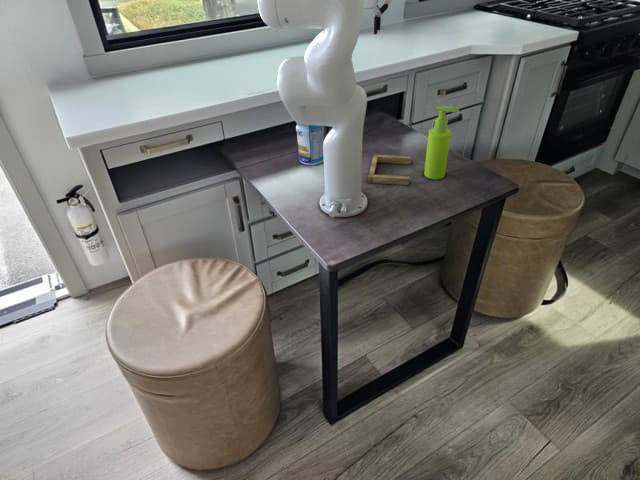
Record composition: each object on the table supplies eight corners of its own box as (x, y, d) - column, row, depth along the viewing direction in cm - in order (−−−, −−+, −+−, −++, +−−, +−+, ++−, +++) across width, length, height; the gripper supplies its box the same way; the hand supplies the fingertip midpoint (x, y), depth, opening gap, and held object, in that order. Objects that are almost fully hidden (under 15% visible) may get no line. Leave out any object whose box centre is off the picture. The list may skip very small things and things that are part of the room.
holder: (408, 185, 120) (409, 178, 119) (368, 182, 122) (368, 176, 121) (410, 162, 131) (411, 156, 129) (373, 160, 133) (373, 154, 132)
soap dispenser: (444, 182, 120) (455, 112, 108) (421, 176, 123) (428, 109, 111) (451, 172, 124) (461, 105, 112) (427, 167, 127) (435, 101, 115)
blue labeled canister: (324, 165, 131) (321, 101, 119) (297, 166, 132) (291, 102, 120) (326, 153, 138) (323, 91, 126) (300, 153, 139) (294, 92, 126)
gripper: (317, -44, 98) (321, 36, 108) (393, -47, 95) (389, 36, 105) (324, -47, 104) (326, 30, 114) (396, -50, 100) (392, 29, 111)
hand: (357, 33), depth 110 cm, fingers open, 9 cm apart
